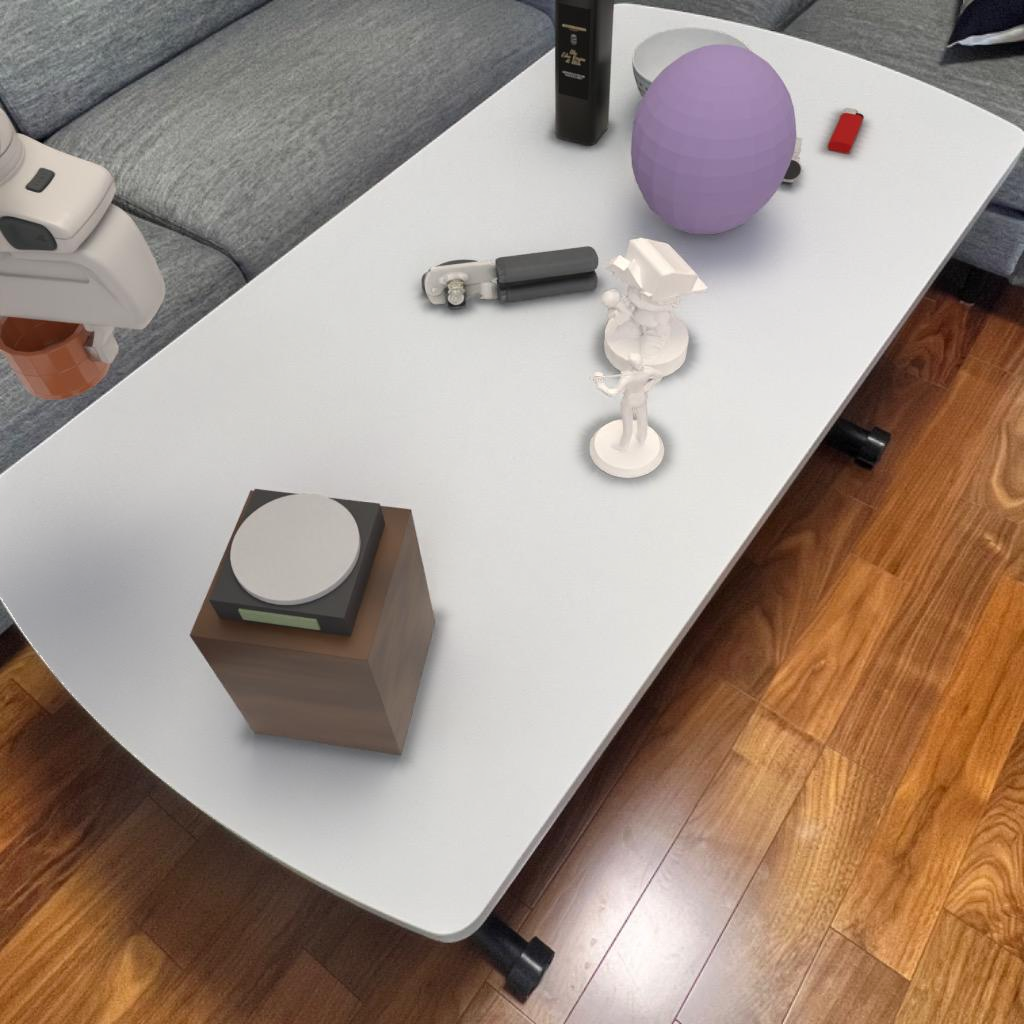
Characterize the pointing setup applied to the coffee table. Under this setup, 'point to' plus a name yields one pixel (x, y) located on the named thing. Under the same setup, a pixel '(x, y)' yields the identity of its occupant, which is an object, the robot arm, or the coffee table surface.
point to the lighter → (846, 131)
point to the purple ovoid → (713, 139)
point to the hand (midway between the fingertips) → (57, 351)
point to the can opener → (512, 277)
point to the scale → (299, 562)
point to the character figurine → (648, 306)
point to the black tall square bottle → (582, 68)
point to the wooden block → (333, 656)
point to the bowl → (50, 357)
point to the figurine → (628, 425)
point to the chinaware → (672, 50)
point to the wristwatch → (794, 164)
